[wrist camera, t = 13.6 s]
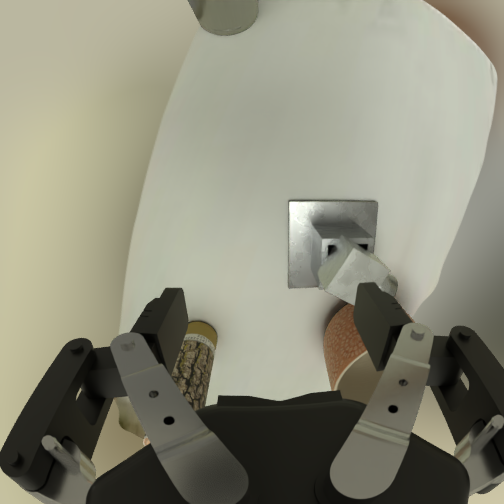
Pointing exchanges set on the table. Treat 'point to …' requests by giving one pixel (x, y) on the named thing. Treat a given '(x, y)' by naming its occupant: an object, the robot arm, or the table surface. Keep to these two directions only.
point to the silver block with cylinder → (353, 270)
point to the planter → (349, 358)
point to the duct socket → (325, 234)
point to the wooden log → (194, 365)
